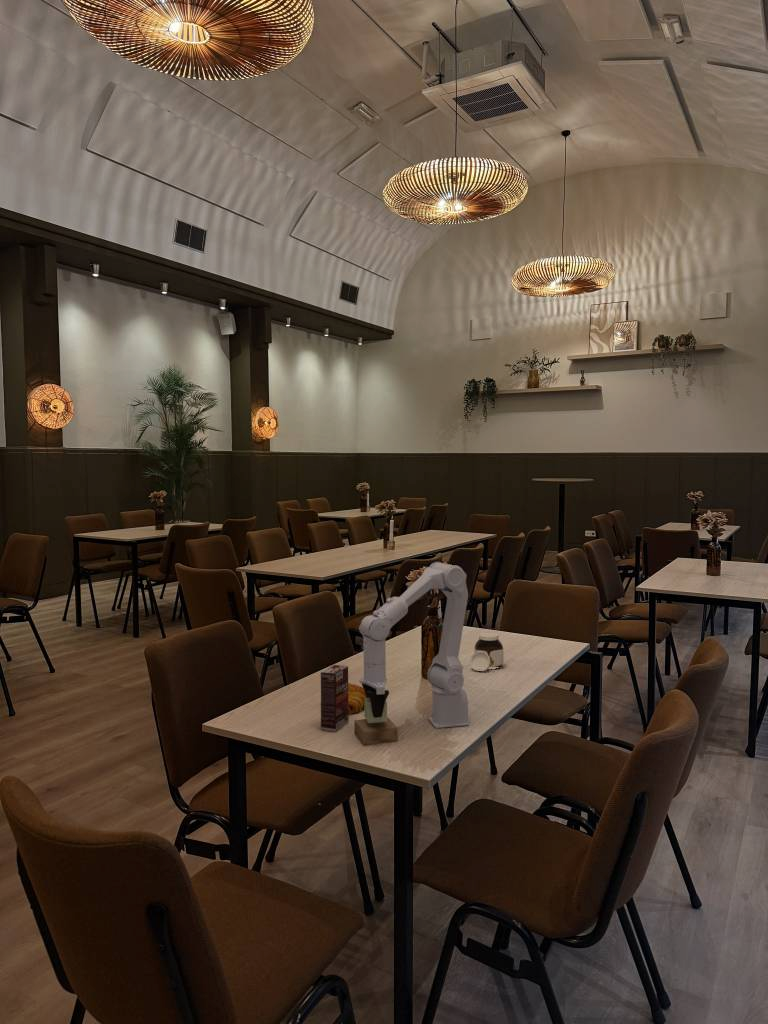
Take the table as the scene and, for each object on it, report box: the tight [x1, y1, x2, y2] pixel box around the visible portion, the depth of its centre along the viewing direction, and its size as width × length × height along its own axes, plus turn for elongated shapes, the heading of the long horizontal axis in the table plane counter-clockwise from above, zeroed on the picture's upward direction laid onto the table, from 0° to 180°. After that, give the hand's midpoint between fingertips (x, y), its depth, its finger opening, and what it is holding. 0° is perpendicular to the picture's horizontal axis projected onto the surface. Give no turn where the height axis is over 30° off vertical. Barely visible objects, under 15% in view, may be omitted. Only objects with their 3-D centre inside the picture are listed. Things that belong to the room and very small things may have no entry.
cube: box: [363, 698, 388, 723], centre depth 188 cm, size 5×5×5 cm
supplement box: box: [320, 664, 350, 733], centre depth 197 cm, size 9×5×16 cm, turn 158°
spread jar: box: [469, 632, 504, 672], centre depth 252 cm, size 12×11×12 cm
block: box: [353, 716, 399, 747], centre depth 188 cm, size 9×9×4 cm
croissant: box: [348, 682, 367, 715], centre depth 213 cm, size 14×16×8 cm
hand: (375, 713), depth 188 cm, fingers closed on cube, 5 cm apart
